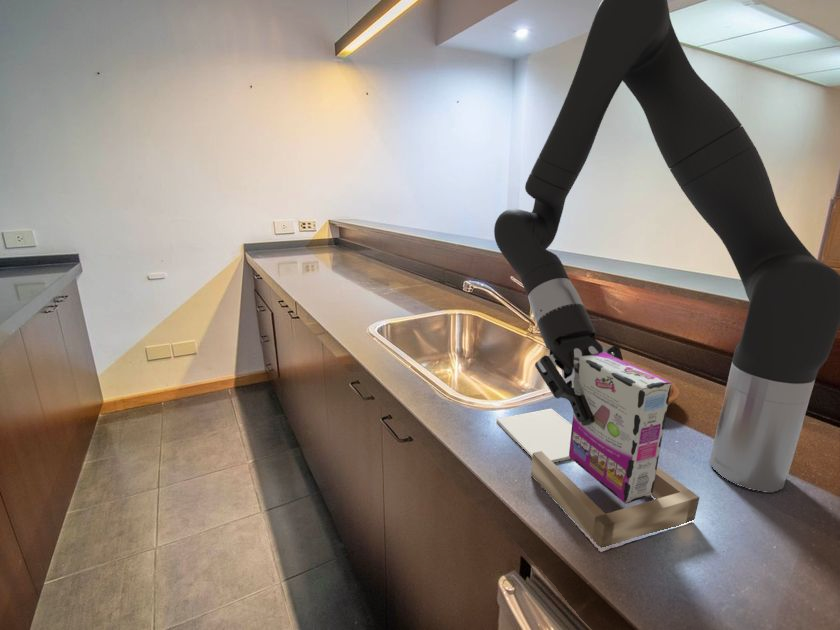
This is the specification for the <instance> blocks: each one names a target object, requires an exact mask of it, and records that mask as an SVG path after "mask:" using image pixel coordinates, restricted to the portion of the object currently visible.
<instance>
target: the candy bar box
mask: <svg viewBox="0 0 840 630" xmlns="http://www.w3.org/2000/svg"><path fill="white" fill-rule="evenodd" d="M578 373H579V376H580V378H579V382H580V385H581V387H582V394H581V395H582V396H585V398H586V400H587V403H588V405H589V407H590V410H591V412H592V414H593V416H594V419H595V421H594V422H593V423H591V424H589V425H585V426H583V425H582V424H581V422H579V421H578V420H577V418H576V416H575V413H574V411H573V412H572V413H573V414H572V423H571V424H572V431H571V440H570V450H569V457H570V458H571V459H570V460H572V461H573V462H575V464H577V466H579V467H580V468H582V469H583V470H584V471H585V472H586V473H587V474H589V475H590V476H591V477H592V478H594V479H595V480H596V481H597V482H599V484H601V485H602V486H603V487H605V489H607V490H608V491H610V493H612V494H613V495H614V496H615V497H616V498H618V499H619V500H620V501H621V502H622V503H624V505H627V504H630V503H633V502H635V501H638V500H642V499H647V498H648V497H650V496H651V495H652V494H653V488H654V482H655V476H656V470H657V467H658V463H659V458H660V451H661V446H662V439H663V435H664V428H665V422H666V418H667V417H666V416H667V413H668V412H667V410H668V406H669V405H668V401H669V395H670V389H671V384H672V383H673V382H672V381H670V380H668V379H667V380H668V381H667V380H665V379H666V378H665V379H663V378H664V377H663V378H661V377H662V376H661V377H658V376H656V375H654V374H655V373H654V374H652V373H653V372H651V373H650V371H648V372H647V370H645V369H643V368H640V367H639V366H635V365H634V364H632V363H629V362H628V361H625V360H624V359H623V360H621V359H618V358H616V357H614V356H612V355H610V354H607V353H605V352H604V353H597V354H592V355H586V356H580V357H579V364H578Z"/></svg>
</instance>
